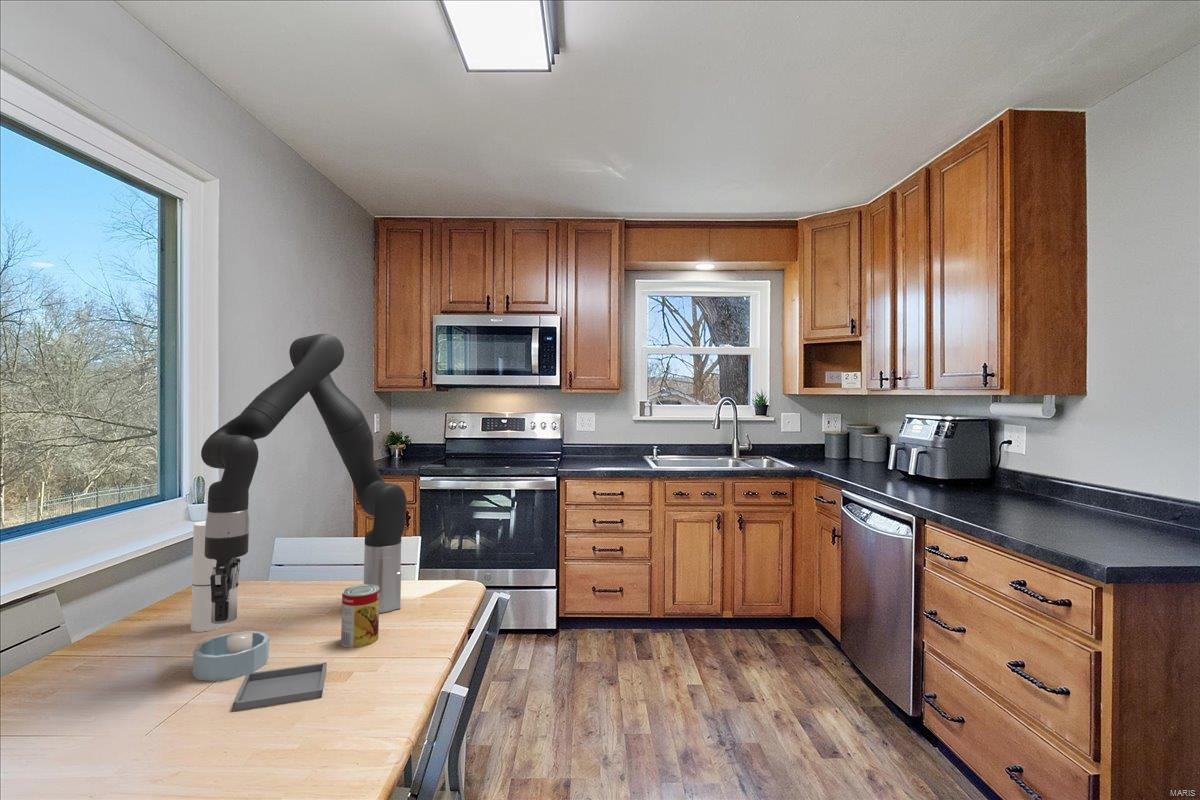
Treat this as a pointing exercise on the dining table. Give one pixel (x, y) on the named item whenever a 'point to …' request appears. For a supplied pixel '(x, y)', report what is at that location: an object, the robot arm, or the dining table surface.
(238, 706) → the tray
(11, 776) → the dining table surface
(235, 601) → the white cylinder
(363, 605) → the canned food
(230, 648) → the white glass cylinder
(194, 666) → the bowl
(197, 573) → the cylindrical container
